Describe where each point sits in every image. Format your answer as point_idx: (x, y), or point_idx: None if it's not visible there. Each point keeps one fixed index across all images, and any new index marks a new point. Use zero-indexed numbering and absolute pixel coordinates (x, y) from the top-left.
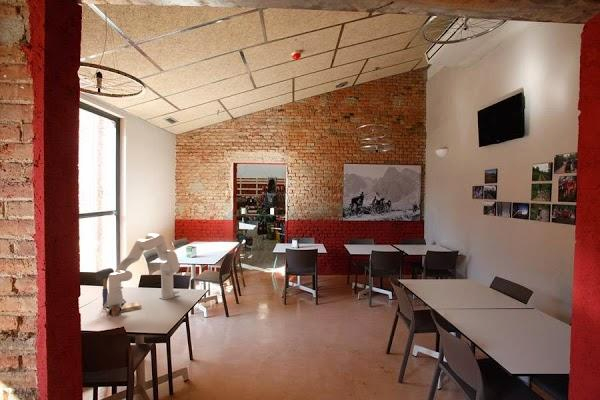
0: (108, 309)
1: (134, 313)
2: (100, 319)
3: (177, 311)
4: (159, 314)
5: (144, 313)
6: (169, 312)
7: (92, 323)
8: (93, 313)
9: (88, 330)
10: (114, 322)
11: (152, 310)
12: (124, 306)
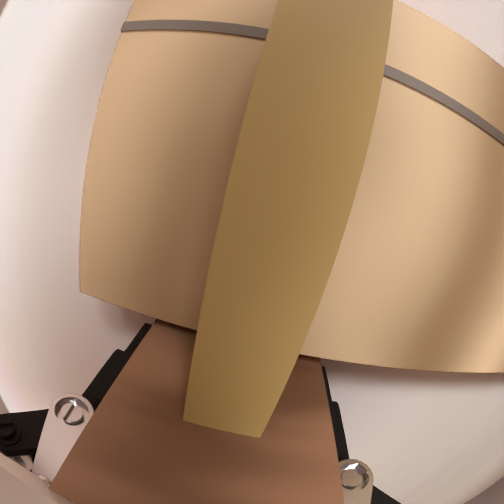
0: (128, 140)
1: (402, 452)
2: (45, 353)
3: (482, 486)
4: (433, 501)
5: (427, 474)
6: (467, 490)
7: (10, 374)
8: (27, 32)
9: None
10: None
11: (491, 443)
12: (501, 252)
